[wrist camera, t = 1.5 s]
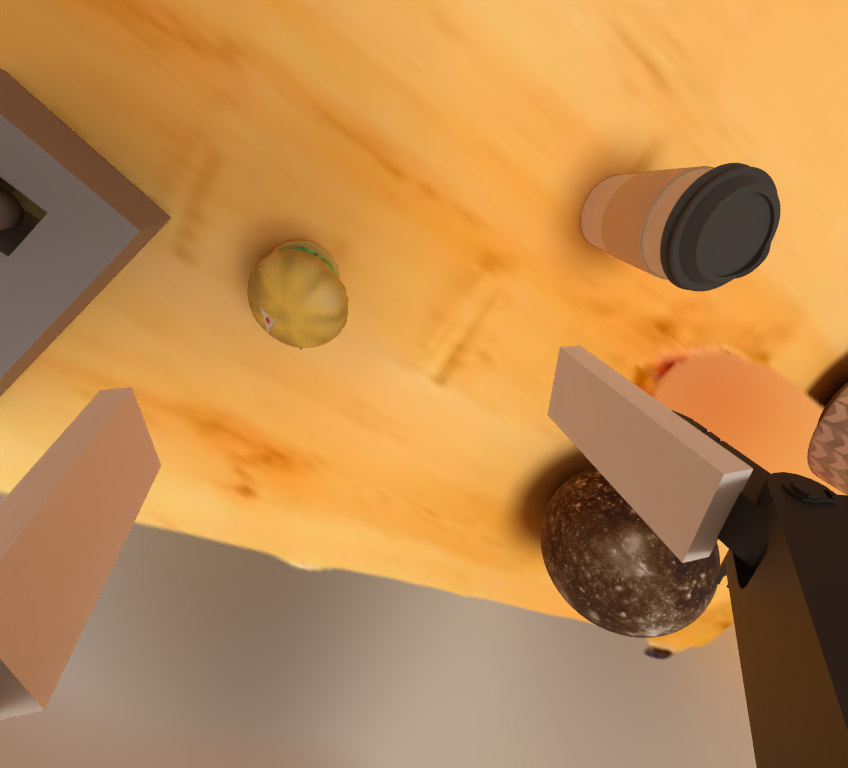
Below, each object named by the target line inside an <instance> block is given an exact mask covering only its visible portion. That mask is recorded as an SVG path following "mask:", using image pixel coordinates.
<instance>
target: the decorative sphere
mask: <svg viewBox="0 0 848 768" xmlns="http://www.w3.org/2000/svg"><path fill="white" fill-rule="evenodd" d="M541 549H542V555H543V559H544V563H545V566H546V568H547V571H548V574H549V576H550V578H551V579H552V581H553V583H554V585H555V587H556V588H557V590H558V591H559V593H560V594H561V595H562V596H563V598H564V599H565V600H566V601H567V602H568V603H569V604H570V606H571V607H573V608H574V609H575V610H576V611H577V612H578V613H579V614H580V615H582V616H583V617H585V618H586V619H587V620H589V621H590V622H592V623H594V624H596V625H597V626H599V627H602V628H604V629H606V630H608V631H611V632H614V633H617V634H620V635H625V636H629V637H638V638H639V637H640V638H651V637H659V636H664V635H668V634H672V633H674V632H677V631H679V630H681V629H683V628H685V627H686V626H688V625H690V624H691V623H692V622H694V621H695V620H696V619H697V618H698V617H699V616H700V615H701V614H702V613H703V612H704V611H705V609H706V608H707V607H708V605H709V604H710V602H711V600H712V598H713V596H714V594H715V591H716V588H717V584H716V583H714V578H715V575H716V573H717V571H718V569H719V567H720V556H719V549H718V545H717V542H716V544H715V546H714V548H713V550H712V552H711V554H710V556H709V557H706V558H702V559H697V560H693V561H689V562H684V563H682V562H681V561H680V560H679V559H678V558H677V556H676V555H675V554H674V553H673V552H672V551H671V550H670V549H669V548H668V547H667V545H666V544H665V543H664V542H663V541H662V540H661V539H660V538H659V537H658V536H657V534H656V533H655V532H654V531H653V530H652V529H651V528H650V527H649V526H648V525H647V524H646V522H645V521H644V520H643V519H642V518H641V517H640V516H639V515H638V514H637V513H636V511H635V510H634V509H633V508H632V507H631V506H630V505H629V504H628V503H627V502H626V500H625V499H624V498H623V497H622V496H621V495H620V494H619V493H618V492H617V491H616V489H615V488H614V487H613V486H612V485H611V484H610V483H609V482H608V481H607V480H606V478H605V477H604V476H603V475H602V474H601V473H600V472H599V471H598V470H597V469H596V467H593V468H590V469H587V470H584V471H582V472H580V473H578V474H576V475H574V476H573V477H571V478H570V479H568V480H567V481H566V482H565V483H564V484H562V485H561V486H560V487H559V489H558V490H557V491H556V492H555V494H554V495H553V496H552V498H551V500H550V501H549V503H548V505H547V508H546V510H545V513H544V516H543V520H542V525H541Z"/></svg>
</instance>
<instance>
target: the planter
mask: <svg viewBox="0 0 848 768" xmlns="http://www.w3.org/2000/svg"><path fill="white" fill-rule="evenodd" d="M808 464H809V467H810V469H811V471H812V472H813V473H814V474H815V475H816V476H817V477H819V478H821V479H822V480H824V481H825V482H827V483H828V484H830V485H832V486H833V487H835V488H837V489H838V490H840V491H841V492H843V493H844V494H846V495H848V382H846V383H845V384H844V385H843V386H842V387H841V388H840V389H839V390H838V391H837V392H836V393H835V394H834V395H833V396H832V398H831V399H830V400H829V402H828V403H827V405H826V406H825V408H824V410H823V412H822V414H821V416H820V419H819V421H818V424H817V427H816V429H815V432H814V433H813V436H812V439H811V441H810V444H809V449H808Z"/></svg>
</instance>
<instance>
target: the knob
mask: <svg viewBox="0 0 848 768" xmlns="http://www.w3.org/2000/svg"><path fill="white" fill-rule="evenodd" d="M23 220H24V209H23V207H22V205H21V203H20V202H19V200H18V199H17V198H16V197H15V196H14V195H12V194H11V193H10V192H8V191H6V190H4V189H1V188H0V231H1V230H6V229H10V228H14V227H17V226H19V225H20V224H21V223H22V222H23Z"/></svg>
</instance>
